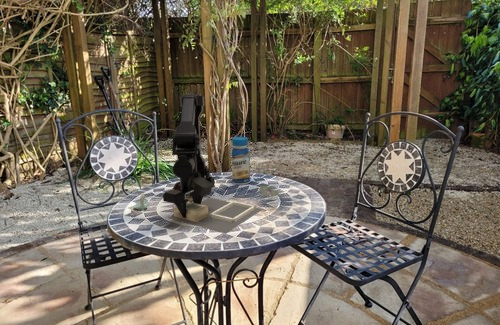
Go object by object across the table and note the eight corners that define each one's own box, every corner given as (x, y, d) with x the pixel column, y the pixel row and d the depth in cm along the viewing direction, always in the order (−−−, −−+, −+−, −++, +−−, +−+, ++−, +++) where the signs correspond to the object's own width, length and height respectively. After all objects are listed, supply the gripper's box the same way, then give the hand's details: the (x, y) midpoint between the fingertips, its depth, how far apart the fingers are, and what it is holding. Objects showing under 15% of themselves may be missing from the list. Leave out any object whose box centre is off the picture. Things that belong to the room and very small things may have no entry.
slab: (173, 216, 115) (173, 206, 114) (186, 210, 120) (185, 200, 119) (196, 222, 110) (196, 211, 109) (208, 215, 115) (207, 205, 114)
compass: (185, 206, 126) (184, 187, 124) (173, 201, 131) (171, 183, 129) (202, 200, 131) (201, 182, 130) (190, 195, 137) (188, 178, 135)
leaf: (283, 209, 125) (283, 206, 124) (262, 208, 124) (262, 206, 124) (277, 188, 144) (277, 186, 143) (259, 188, 143) (259, 185, 143)
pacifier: (129, 214, 120) (146, 212, 120) (126, 197, 118) (144, 196, 119) (133, 206, 127) (150, 205, 127) (131, 190, 125) (148, 189, 126)
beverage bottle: (253, 180, 154) (252, 136, 149) (245, 186, 147) (244, 140, 142) (236, 178, 158) (235, 135, 153) (228, 184, 150) (226, 139, 145)
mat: (167, 219, 114) (167, 214, 114) (209, 199, 132) (208, 194, 132) (226, 235, 102) (225, 229, 101) (263, 210, 120) (262, 205, 119)
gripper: (187, 180, 99) (190, 230, 103) (225, 165, 114) (226, 209, 118) (159, 175, 105) (163, 222, 109) (199, 162, 120) (201, 203, 124)
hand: (191, 214), depth 115 cm, fingers closed on slab, 6 cm apart
